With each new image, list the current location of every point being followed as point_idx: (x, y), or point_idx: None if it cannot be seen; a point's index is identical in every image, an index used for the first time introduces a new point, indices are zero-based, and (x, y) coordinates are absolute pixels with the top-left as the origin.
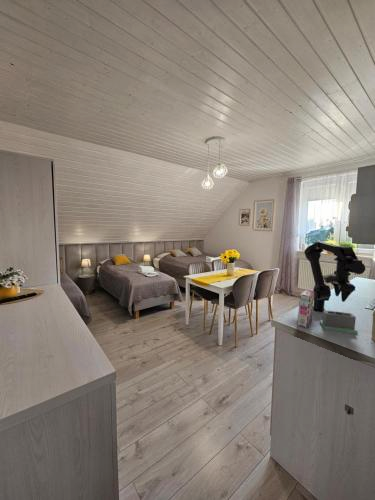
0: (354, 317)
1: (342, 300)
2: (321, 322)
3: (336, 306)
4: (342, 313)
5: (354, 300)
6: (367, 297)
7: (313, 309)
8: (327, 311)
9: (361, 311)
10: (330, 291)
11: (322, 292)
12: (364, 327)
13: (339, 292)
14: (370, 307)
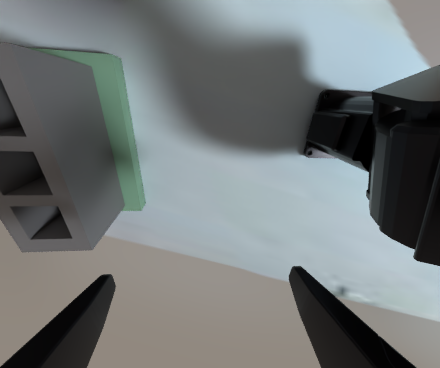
0: (23, 244)
1: (91, 287)
2: (68, 51)
3: (370, 219)
4: (42, 199)
5: (414, 283)
6: (427, 313)
7: (332, 90)
8: (3, 83)
9: (316, 274)
10: (429, 259)
11: (438, 166)
12: (163, 242)
13: (310, 333)
14: (348, 299)
